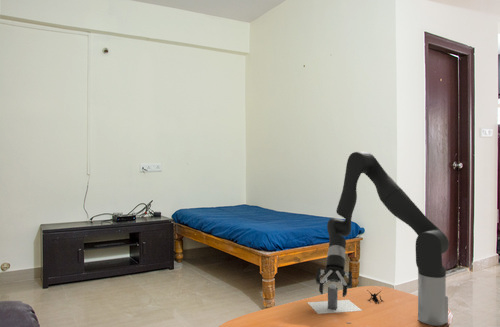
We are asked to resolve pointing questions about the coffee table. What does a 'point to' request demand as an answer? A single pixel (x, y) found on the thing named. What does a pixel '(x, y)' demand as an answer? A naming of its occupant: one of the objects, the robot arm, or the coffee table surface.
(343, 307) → the dock plate
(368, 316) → the coffee table surface
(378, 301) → the creature
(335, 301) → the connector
